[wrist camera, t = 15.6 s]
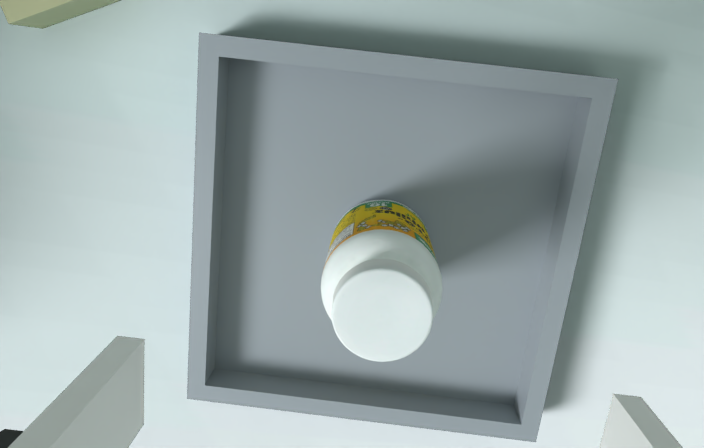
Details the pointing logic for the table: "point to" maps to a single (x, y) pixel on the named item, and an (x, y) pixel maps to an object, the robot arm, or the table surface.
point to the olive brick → (47, 10)
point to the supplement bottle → (381, 281)
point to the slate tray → (397, 185)
